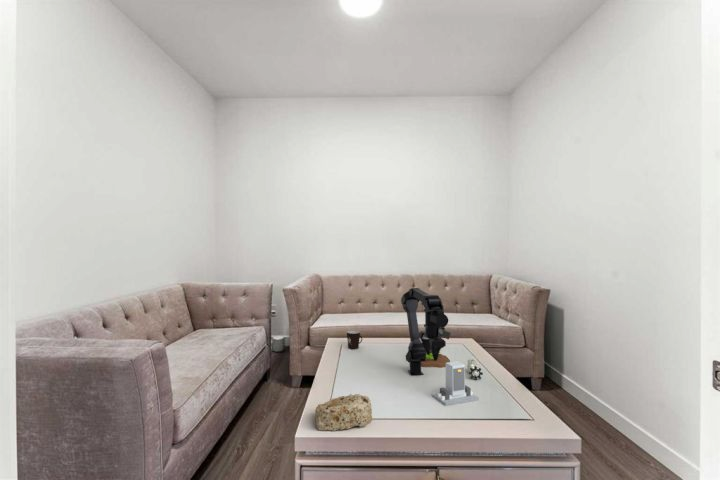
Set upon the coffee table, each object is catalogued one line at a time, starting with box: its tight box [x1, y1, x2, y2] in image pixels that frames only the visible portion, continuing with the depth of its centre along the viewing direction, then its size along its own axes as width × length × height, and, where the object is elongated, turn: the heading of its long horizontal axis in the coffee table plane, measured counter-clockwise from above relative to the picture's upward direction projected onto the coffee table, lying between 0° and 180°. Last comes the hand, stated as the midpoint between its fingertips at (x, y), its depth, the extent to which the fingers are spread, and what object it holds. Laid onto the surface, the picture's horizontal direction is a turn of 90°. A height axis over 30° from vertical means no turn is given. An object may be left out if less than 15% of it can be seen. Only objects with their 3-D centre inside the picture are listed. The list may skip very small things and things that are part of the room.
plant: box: [421, 348, 451, 369], centre depth 202 cm, size 20×20×11 cm
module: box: [445, 360, 466, 396], centre depth 152 cm, size 6×6×12 cm
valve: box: [466, 358, 484, 381], centre depth 179 cm, size 7×7×12 cm
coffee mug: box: [346, 330, 363, 350], centre depth 228 cm, size 12×9×10 cm
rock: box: [315, 393, 373, 432], centre depth 132 cm, size 21×14×10 cm
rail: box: [431, 384, 480, 407], centre depth 152 cm, size 16×10×4 cm, turn 111°
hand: (431, 357), depth 165 cm, fingers open, 9 cm apart
